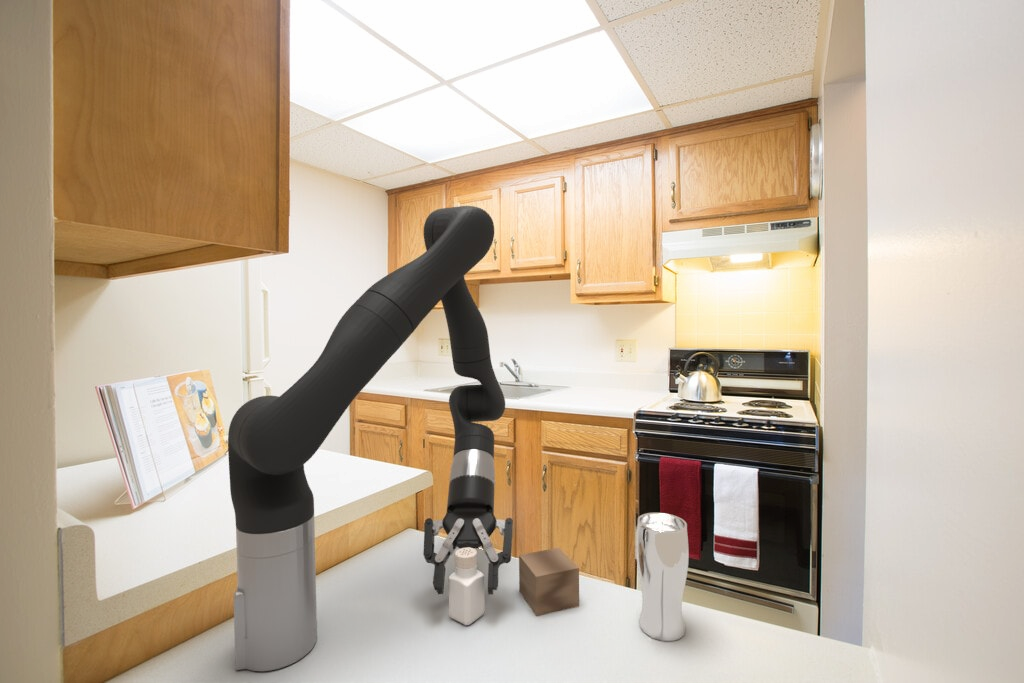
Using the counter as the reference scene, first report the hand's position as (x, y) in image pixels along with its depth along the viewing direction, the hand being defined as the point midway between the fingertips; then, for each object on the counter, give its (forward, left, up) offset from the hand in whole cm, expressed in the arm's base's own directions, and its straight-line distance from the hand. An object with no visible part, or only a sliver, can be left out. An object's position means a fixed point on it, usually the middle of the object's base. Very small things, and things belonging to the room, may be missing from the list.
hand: (465, 592), depth 68 cm
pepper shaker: (+1, +2, -5) cm, 5 cm away
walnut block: (+14, +2, -5) cm, 14 cm away
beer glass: (+26, -10, -5) cm, 28 cm away
